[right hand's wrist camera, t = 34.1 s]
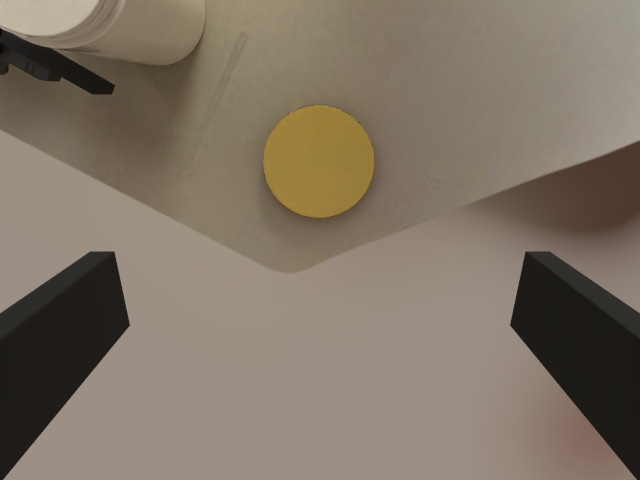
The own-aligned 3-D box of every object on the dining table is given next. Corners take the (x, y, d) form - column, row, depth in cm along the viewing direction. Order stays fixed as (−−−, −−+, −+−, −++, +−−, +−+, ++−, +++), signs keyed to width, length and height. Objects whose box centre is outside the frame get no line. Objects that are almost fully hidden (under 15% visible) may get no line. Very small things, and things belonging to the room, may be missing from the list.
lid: (256, 201, 38) (254, 205, 36) (275, 92, 34) (273, 92, 33) (357, 222, 39) (358, 228, 37) (385, 119, 35) (388, 120, 34)
